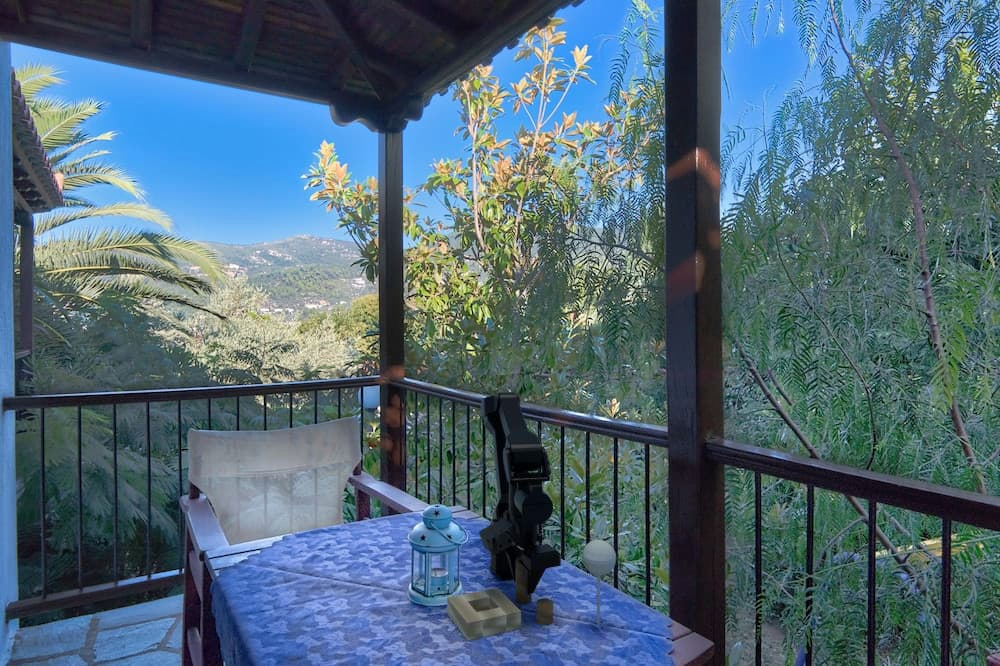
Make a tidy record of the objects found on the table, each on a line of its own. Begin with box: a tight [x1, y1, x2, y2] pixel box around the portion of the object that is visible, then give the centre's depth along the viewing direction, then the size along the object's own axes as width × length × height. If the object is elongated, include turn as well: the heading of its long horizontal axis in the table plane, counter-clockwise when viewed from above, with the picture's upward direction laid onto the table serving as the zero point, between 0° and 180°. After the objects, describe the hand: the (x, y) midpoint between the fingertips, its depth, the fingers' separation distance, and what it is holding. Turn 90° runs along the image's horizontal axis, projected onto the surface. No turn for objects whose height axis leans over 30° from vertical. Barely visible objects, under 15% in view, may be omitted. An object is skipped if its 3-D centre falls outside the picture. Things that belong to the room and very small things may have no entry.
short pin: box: [535, 597, 554, 626], centre depth 109 cm, size 3×3×4 cm
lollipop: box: [581, 539, 617, 626], centre depth 108 cm, size 6×6×15 cm
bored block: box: [446, 587, 522, 642], centre depth 109 cm, size 10×10×3 cm
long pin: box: [514, 556, 532, 606], centre depth 117 cm, size 3×3×8 cm
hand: (523, 587), depth 117 cm, fingers open, 5 cm apart
